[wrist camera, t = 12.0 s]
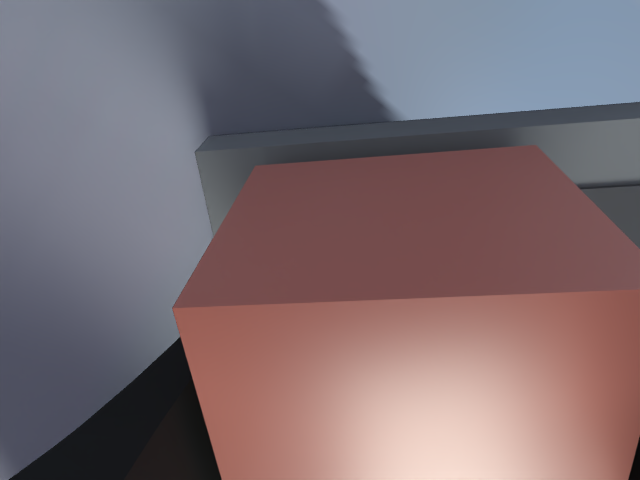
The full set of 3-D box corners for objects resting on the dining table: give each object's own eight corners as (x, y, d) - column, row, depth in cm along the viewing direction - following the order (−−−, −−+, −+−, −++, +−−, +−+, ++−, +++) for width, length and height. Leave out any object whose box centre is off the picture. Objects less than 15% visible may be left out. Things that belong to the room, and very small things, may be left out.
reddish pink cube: (536, 144, 9) (677, 288, 5) (515, 366, 12) (599, 589, 8) (255, 165, 10) (172, 307, 6) (290, 371, 13) (250, 579, 8)
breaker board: (812, 88, 10) (881, 105, 9) (688, 452, 16) (720, 500, 14) (209, 136, 12) (188, 157, 11) (275, 453, 17) (266, 496, 16)
